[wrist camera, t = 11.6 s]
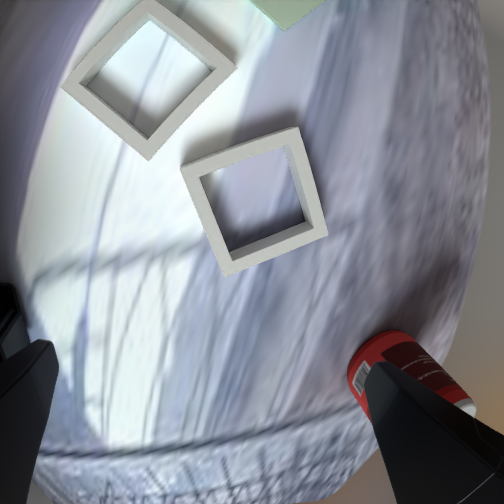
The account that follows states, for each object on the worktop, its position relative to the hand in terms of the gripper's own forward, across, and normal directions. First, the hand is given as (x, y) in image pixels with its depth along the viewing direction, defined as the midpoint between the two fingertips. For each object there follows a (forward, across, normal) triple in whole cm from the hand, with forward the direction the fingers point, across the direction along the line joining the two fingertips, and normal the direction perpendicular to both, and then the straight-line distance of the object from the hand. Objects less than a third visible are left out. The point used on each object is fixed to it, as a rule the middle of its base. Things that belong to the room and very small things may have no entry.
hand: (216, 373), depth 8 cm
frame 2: (+13, -2, -2) cm, 14 cm away
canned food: (+14, -17, +12) cm, 25 cm away
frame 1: (+13, +5, -8) cm, 16 cm away
